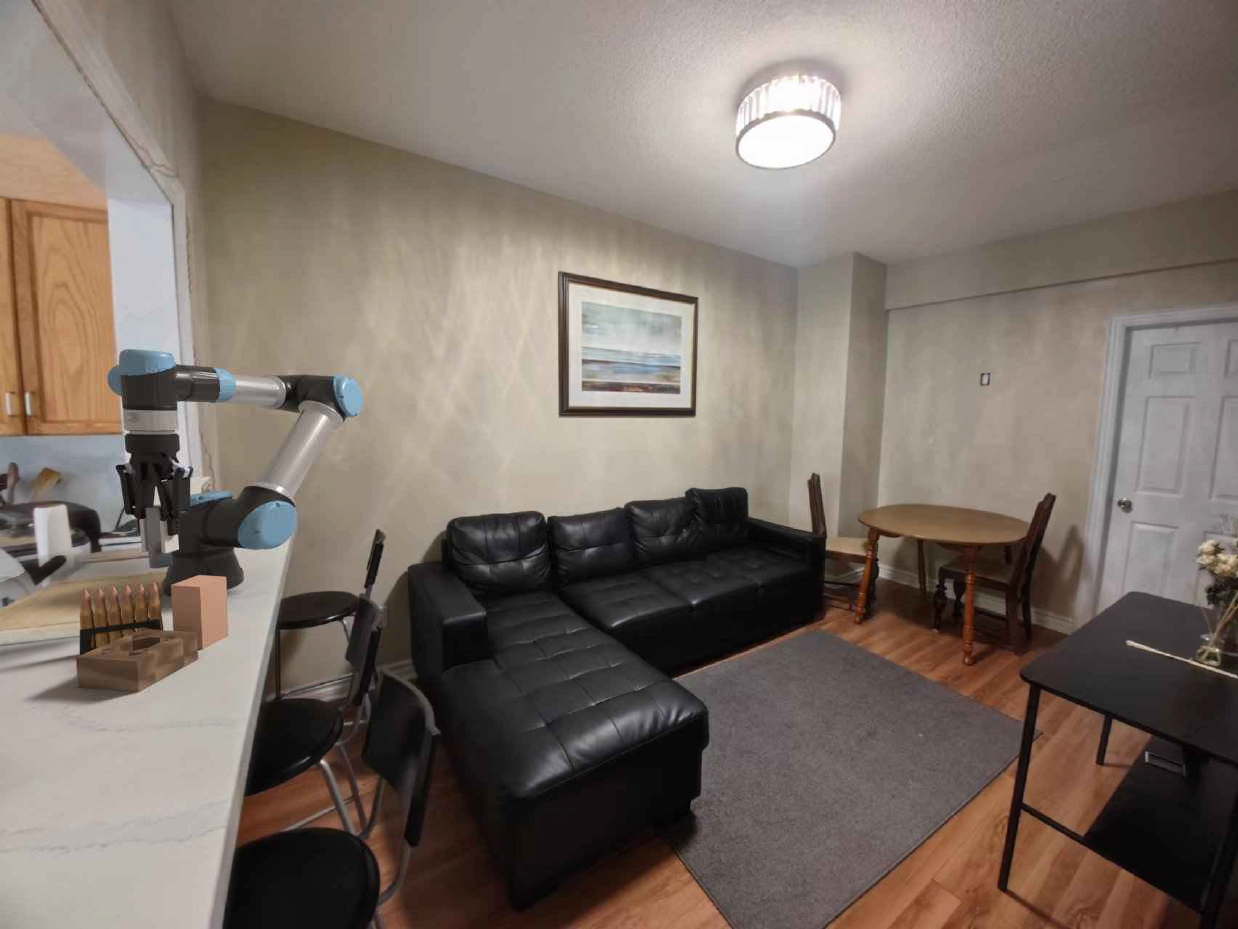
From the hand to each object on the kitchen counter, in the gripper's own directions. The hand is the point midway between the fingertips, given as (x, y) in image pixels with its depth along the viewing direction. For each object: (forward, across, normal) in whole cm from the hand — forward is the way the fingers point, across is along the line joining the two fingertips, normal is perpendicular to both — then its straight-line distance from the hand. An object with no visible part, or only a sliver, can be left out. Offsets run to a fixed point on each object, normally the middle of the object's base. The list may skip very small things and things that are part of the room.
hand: (160, 550), depth 93 cm
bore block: (+16, +12, -16) cm, 25 cm away
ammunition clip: (+16, +1, -9) cm, 18 cm away
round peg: (+3, 0, 0) cm, 3 cm away
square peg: (+16, +12, -5) cm, 20 cm away
